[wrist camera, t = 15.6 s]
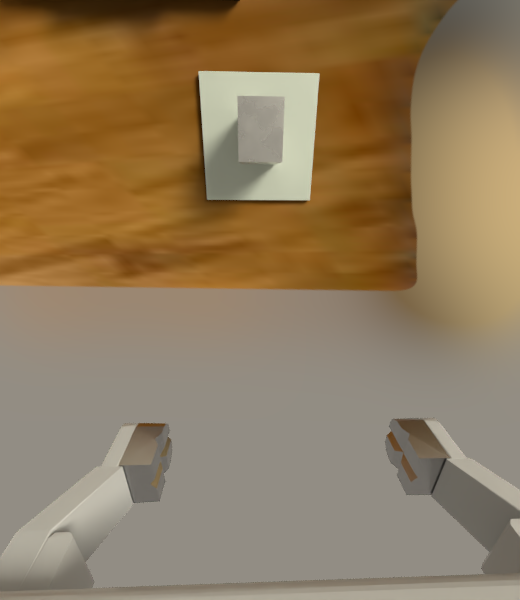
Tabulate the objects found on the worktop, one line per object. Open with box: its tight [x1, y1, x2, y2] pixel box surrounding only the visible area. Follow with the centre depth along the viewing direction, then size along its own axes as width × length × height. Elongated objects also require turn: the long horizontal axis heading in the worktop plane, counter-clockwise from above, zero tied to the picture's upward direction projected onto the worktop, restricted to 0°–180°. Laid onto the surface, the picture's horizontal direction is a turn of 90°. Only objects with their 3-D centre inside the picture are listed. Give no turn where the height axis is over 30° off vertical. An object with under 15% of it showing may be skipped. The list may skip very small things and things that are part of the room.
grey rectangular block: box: [237, 96, 285, 165], centre depth 29 cm, size 4×5×9 cm
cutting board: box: [199, 71, 319, 200], centre depth 33 cm, size 13×13×1 cm
